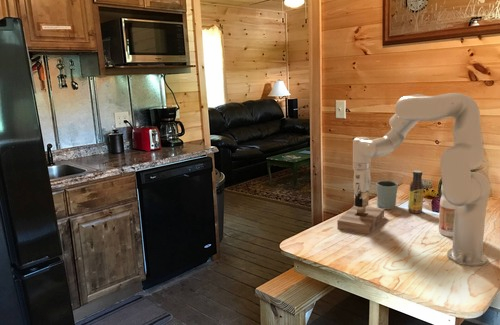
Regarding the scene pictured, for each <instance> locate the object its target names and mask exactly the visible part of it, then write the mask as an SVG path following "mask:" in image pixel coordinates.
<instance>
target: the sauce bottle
mask: <svg viewBox="0 0 500 325" xmlns="http://www.w3.org/2000/svg"><path fill="white" fill-rule="evenodd" d="M422 175H423V171H422V170H413V171H412V181H411V182H410V185H409V192H408V205H407V206H408V209H407V210H408V212H409V213H411V214H420V213H422V212H423V205H424V203H423V202H424V191H425V188H424V185H423V181H422V180H423V179H422Z"/></svg>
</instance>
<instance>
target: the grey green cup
mask: <svg viewBox="0 0 500 325" xmlns="http://www.w3.org/2000/svg"><path fill="white" fill-rule="evenodd" d="M398 187H399V184H398V182H396V181H393V180H379V181H377V182H376V198H377V199H376V206H377V208H381V209H384V210H393V209H395V208H396V203H397V193H398V190H399V189H398Z"/></svg>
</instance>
